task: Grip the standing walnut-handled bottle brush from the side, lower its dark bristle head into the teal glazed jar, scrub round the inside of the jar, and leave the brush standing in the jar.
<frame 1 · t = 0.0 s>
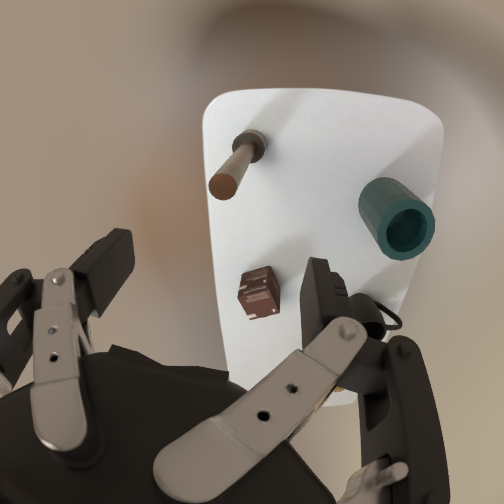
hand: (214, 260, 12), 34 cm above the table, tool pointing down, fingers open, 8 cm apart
mug: (365, 301, 55), on the table
jar: (383, 203, 44), on the table
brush: (251, 143, 41), on the table
box: (261, 280, 55), on the table
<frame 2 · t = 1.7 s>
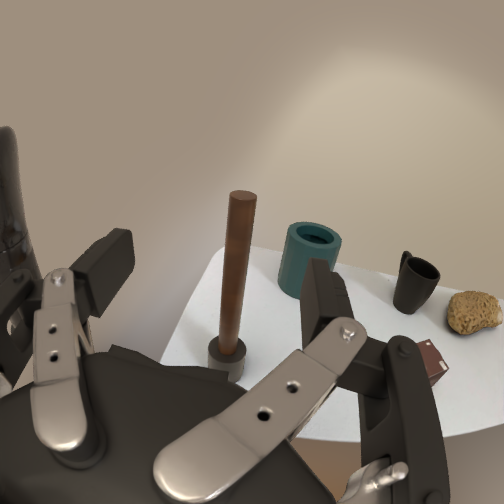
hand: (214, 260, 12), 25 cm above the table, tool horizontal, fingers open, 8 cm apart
mug: (401, 300, 52), on the table
sponge: (467, 323, 46), on the table
jar: (301, 284, 53), on the table
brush: (225, 370, 34), on the table
box: (401, 387, 33), on the table
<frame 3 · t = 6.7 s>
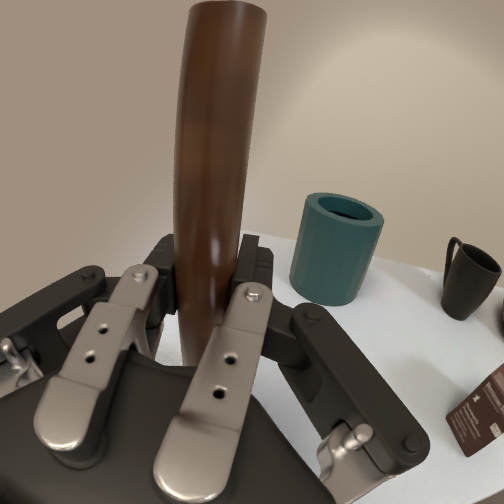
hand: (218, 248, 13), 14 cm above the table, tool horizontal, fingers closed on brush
mug: (448, 302, 35), on the table
jar: (323, 282, 36), on the table
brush: (206, 429, 18), on the table, touching gripper
box: (469, 427, 16), on the table
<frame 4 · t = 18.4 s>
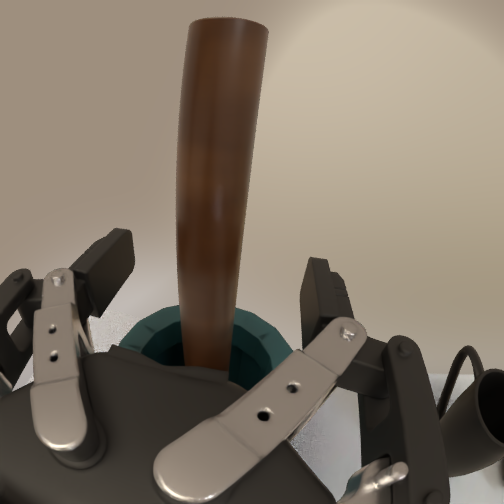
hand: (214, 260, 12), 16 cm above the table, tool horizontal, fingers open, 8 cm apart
mug: (435, 441, 17), on the table
jar: (207, 435, 19), on the table
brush: (208, 433, 18), point 1 cm above the table, touching jar
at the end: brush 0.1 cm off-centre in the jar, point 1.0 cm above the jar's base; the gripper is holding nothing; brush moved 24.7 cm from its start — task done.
